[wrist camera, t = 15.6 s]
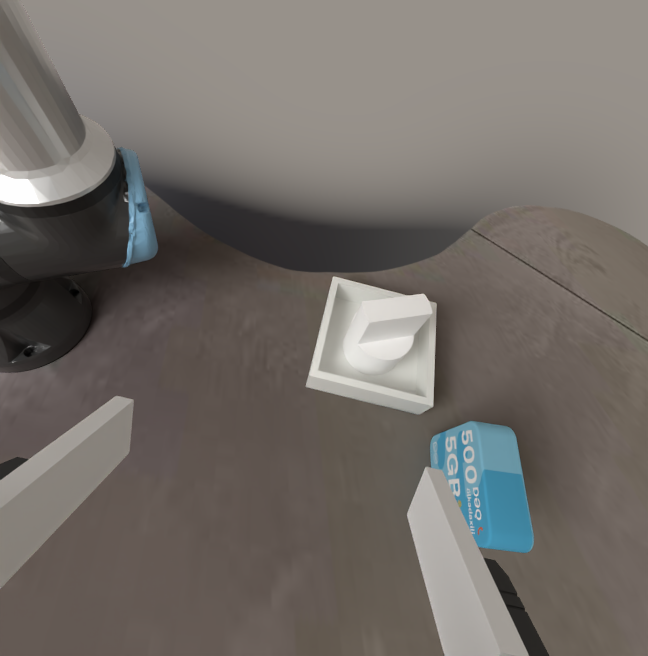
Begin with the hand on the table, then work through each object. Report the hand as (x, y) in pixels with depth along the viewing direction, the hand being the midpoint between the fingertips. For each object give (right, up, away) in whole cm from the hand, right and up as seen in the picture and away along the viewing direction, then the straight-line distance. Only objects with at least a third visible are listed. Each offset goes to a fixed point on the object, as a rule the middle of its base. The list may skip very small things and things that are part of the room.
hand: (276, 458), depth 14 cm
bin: (+9, +2, +36) cm, 38 cm away
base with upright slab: (+9, +3, +36) cm, 37 cm away
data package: (+19, -15, +29) cm, 37 cm away
